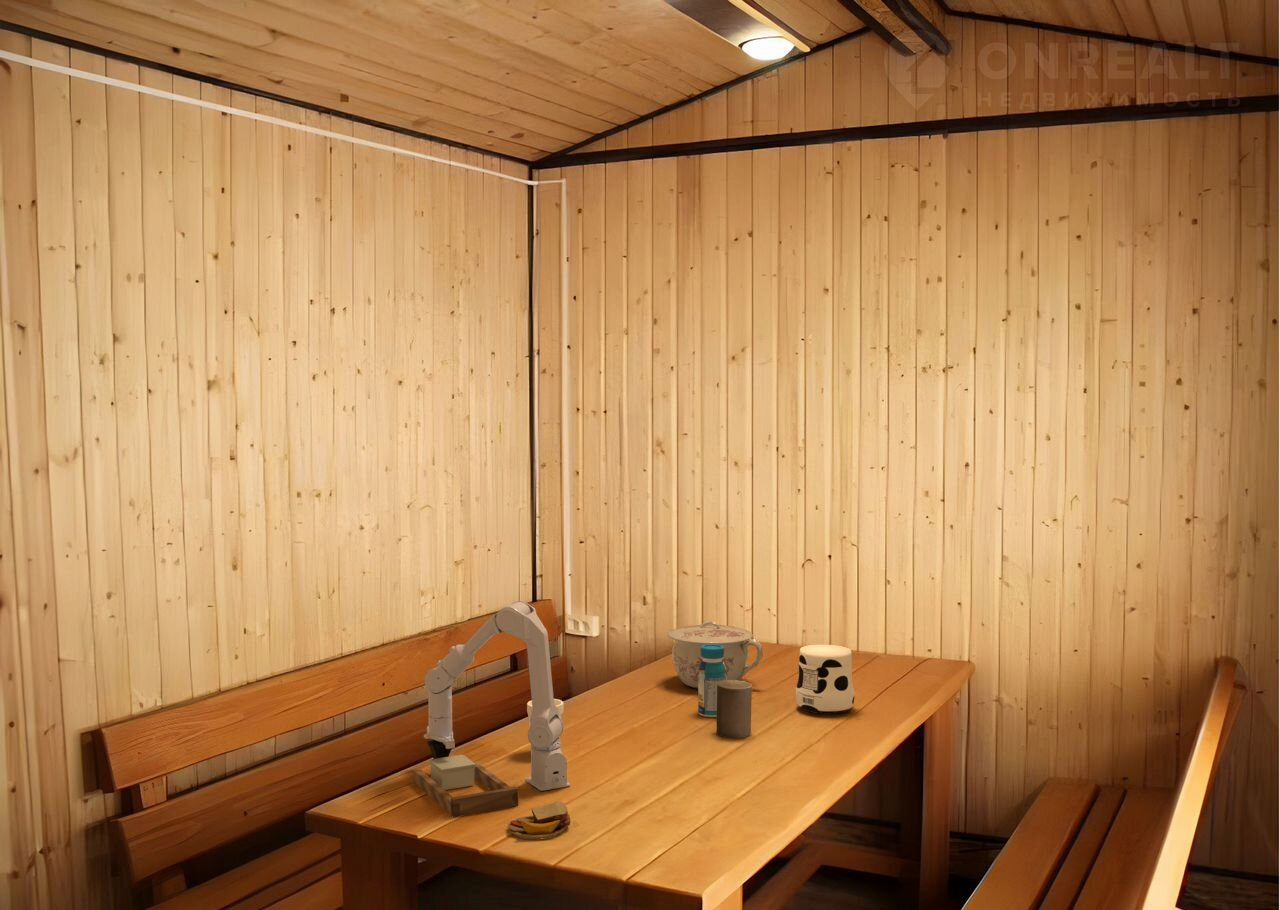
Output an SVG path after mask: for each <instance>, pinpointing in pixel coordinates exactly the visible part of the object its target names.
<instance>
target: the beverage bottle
mask: <svg viewBox="0 0 1280 910" xmlns="http://www.w3.org/2000/svg"><path fill="white" fill-rule="evenodd" d="M701 658H703V660H702V661H701V663H700V665H699V668H698V671H699V675H698V689H697V691H698V693H697V694H698V695H697V697H698V699H697V701H698V702H697V704H698V705H697V713H698V714H699V716H700V717H701V716H702V717H705V718H717V684H718V682H721V681H725V680H727V677H726V675H725V672H726V666H725V664H724V662H723V661H722V659H723V658H724V647H723V646H721V645H715V644H708V645H703V646H701Z"/></svg>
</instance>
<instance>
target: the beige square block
mask: <svg viewBox="0 0 1280 910" xmlns="http://www.w3.org/2000/svg"><path fill="white" fill-rule="evenodd" d="M428 763H429V764H430V778H431V779H432V780H433V781H435V782H436V783H437V784H438V785H439V786H440V787H442V788H443V789H444V790H445V791H447V790H453V789H460V788H465V787H470V786H475V778H474V768H476V764H475V763H474V762H472V759H470V758H468V757H467V756H465V754H458V755H457V754H456V755H452V756H450V755H449V757H444V758H437V759H433V758H432V759H429V760H428Z"/></svg>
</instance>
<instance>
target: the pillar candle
mask: <svg viewBox="0 0 1280 910" xmlns="http://www.w3.org/2000/svg"><path fill="white" fill-rule="evenodd" d="M752 688H753V685H752V683H750V682H747V681H745V680H739V681H738V680H725V681H721V682H718V684H717V717H716V730H715V734H716V735H718V736H720V737H724V738H731V739H739V738H740V739H741V738H746V737H749V736H751V733H752V732H751V731H752V698H753V696H752V695H753V694H752V691H753V689H752Z"/></svg>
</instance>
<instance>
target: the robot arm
mask: <svg viewBox="0 0 1280 910" xmlns="http://www.w3.org/2000/svg"><path fill="white" fill-rule="evenodd" d="M502 633H505V634H508V635H511V636H514V637H517V638H519V639H520V640H521V641H522V642H524V643H525V644H526V651H527V660H528V672H529V684H530V685H529V686H530V695H531V700H532V707H533V709H532V713H531V718H530V725H529V729H528V731H527V739H528V742H529V743H530V776H529V777H525V778H524V781H526V782H527V783H528V784H530V785H532V787H534V788H535V789H537V790H538V791H540V792H542V791H549V790H554V789H560V788H566V787H570V786H571V783H570V782H569V781H568V766H567V765H568V761H567V758H566V755H564V754H563V752H562V741H561V736H562V735H563V732H564V729H565V727H564V722H563V720H561V718H560V716H559V711H558V708H557V707H556V706H555V705H554V699H555V698H554V687H553V679H552V677H553V676H552V667H551V666H552V665H551V656H550V655H551V653H550V644H549V643H550V641H549V633H548V630H547V628H546V627H545V625H544V624H543V622H542V620H541V619H540V618H539V616H538V614H537V611H536V608H535V607H533V606H532V605H531V604H529V603H527V602H526V601H523V600H516V601H514V602H512V603H511V604H510V605H507V606H505V607H502V608H500V609H499V611H498V612H497V613H495V614H493V615H492V616H491V617H490V618H488V619H487V620H486V621H485V622H484V623H483V624H482V625H481V626H480V628H478V630H477V631H476V632H474V634H473V635H472V637H471V638H469V640H468V641H466V643H465V644H456V645H453V646H451V647H449V649H448V652H449V653H448V654H447V655H445V657H444V658H442V659H440V660H438V661H437V662H436V667H435V668H431V669H429V670H428V671H427V673H426V674H425V676H424V685H425V688H426V689H427V690H428V691H427V692H428V699H427V701H428V703H427V705H428V725H427V726H426V733H425V734H423V738H424V739H427V741H426V744H427V746H428V748H429V749H430V752H431V756H432V759H437V758H444V757H450V755H451V751H452V750H453V749H455V748H456V747H455V745H456V744H455V739H454V731H453V693H452V691H453V685H454V684H455V682H456V680H457V679H458V678H459V677H460V676H461V675H462V674H463V673H464V671H466V670H467V669H468V668H469V667H470V666H471V665H472V664H473V663H474V661H475V653H477V652H478V651H479V650H480V649H481V648H482V647H483V646H484V645H485V644H486V643H487V642H488V641H489V640H490V639H492V637H493V636H495V635H499V634H502ZM428 739H431V740H428Z"/></svg>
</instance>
